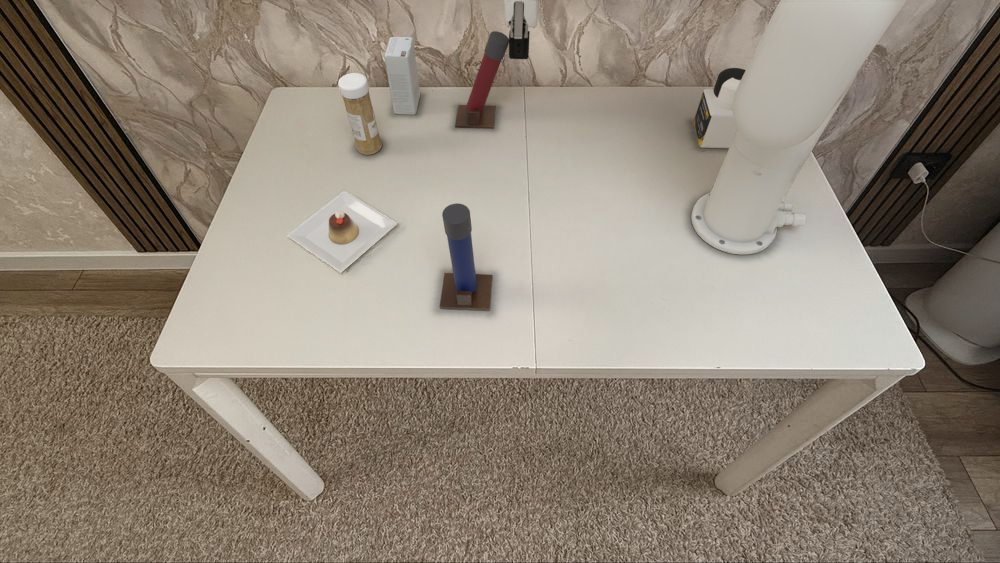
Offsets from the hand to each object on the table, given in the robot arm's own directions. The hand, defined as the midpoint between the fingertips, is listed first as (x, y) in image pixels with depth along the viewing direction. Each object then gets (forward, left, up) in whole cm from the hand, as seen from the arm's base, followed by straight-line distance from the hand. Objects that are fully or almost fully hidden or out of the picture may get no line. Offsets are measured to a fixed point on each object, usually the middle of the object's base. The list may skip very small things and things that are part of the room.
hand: (518, 56), depth 92 cm
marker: (+6, +39, -10) cm, 41 cm away
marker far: (+8, 0, -10) cm, 13 cm away
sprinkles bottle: (+26, +9, -13) cm, 30 cm away
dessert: (+26, +29, -13) cm, 41 cm away
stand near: (+6, +39, -13) cm, 41 cm away
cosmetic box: (+21, -3, -13) cm, 24 cm away
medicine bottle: (-35, +3, -13) cm, 38 cm away
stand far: (+8, 0, -13) cm, 15 cm away
